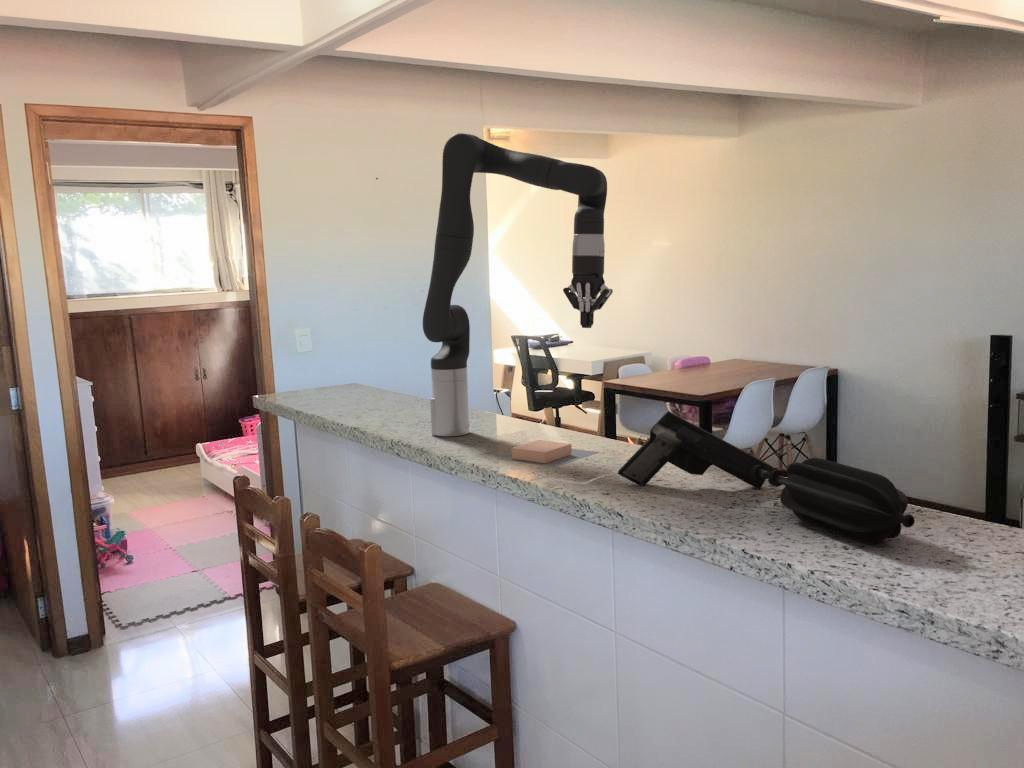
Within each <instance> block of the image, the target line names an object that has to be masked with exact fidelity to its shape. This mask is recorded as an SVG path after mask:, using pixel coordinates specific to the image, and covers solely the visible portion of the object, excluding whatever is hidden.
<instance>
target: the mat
mask: <svg viewBox="0 0 1024 768" xmlns="http://www.w3.org/2000/svg"><path fill="white" fill-rule="evenodd" d="M571 451H572V455H569V456H566V457H563V458H560V459H557V460H554V461H551V462H548V463H539V462H532V461H525V460H518V459H512V453H510V454H507V455H504V456H501V457H497V458H496V459H497V460H502V461H509V462H516V463H522V464H530V465H536V466H542V467H550V468H558V467H560V466H564V465H566V464H569V463H572V462H575V461H577V460H581V459H584V458H586V457H589V456H592V455H595V454H598V453H600V452H599V451H593V450H585V449H579V448H578V449H577V448H571Z"/></svg>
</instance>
